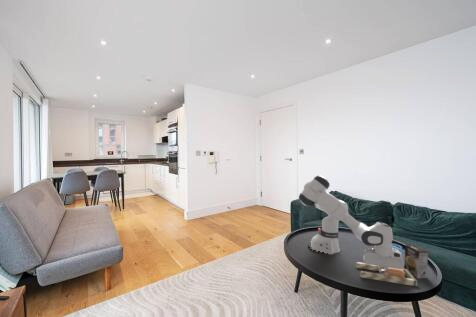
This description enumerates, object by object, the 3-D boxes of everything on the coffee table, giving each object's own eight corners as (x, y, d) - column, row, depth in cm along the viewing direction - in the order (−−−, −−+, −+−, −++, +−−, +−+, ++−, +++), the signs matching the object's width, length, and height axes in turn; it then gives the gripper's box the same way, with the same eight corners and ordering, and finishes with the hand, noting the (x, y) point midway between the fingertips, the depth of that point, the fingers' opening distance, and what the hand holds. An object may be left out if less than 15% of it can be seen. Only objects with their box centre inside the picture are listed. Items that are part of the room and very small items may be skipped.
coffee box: (403, 269, 131) (404, 244, 130) (413, 269, 131) (414, 244, 131) (417, 278, 122) (418, 251, 121) (427, 278, 122) (428, 251, 122)
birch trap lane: (361, 277, 123) (361, 272, 123) (355, 263, 138) (355, 259, 138) (417, 286, 115) (417, 281, 115) (404, 270, 129) (404, 266, 129)
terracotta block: (387, 278, 122) (388, 269, 122) (385, 273, 127) (385, 265, 127) (404, 281, 119) (404, 272, 119) (401, 276, 124) (401, 268, 124)
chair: (402, 266, 134) (403, 248, 134) (386, 262, 140) (387, 244, 139) (403, 262, 140) (404, 244, 139) (388, 257, 145) (389, 240, 145)
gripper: (364, 249, 124) (363, 272, 125) (405, 255, 118) (404, 279, 118) (361, 245, 130) (361, 267, 131) (400, 250, 124) (400, 273, 124)
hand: (382, 272), depth 125 cm, fingers closed
